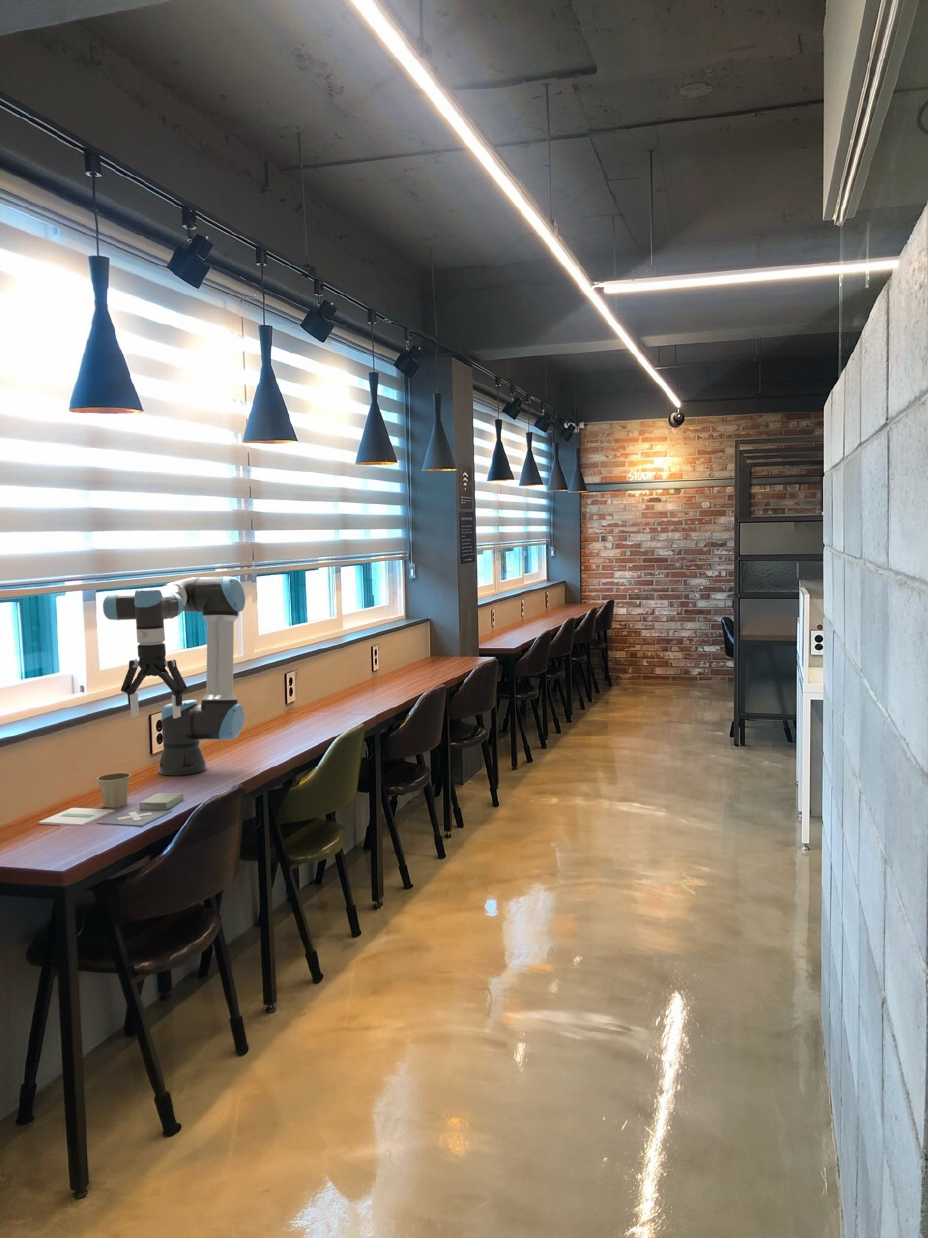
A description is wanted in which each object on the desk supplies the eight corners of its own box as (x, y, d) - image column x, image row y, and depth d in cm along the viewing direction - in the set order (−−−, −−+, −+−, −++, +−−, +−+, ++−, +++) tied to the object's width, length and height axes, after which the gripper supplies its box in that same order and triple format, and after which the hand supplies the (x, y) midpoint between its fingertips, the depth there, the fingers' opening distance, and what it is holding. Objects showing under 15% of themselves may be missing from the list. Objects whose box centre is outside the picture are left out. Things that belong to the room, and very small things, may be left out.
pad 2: (128, 810, 270) (128, 807, 270) (171, 812, 267) (171, 810, 266) (97, 825, 257) (96, 822, 257) (142, 827, 253) (142, 824, 253)
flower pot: (91, 807, 275) (90, 777, 274) (121, 799, 283) (119, 771, 282) (110, 812, 269) (108, 782, 269) (139, 804, 277) (137, 775, 276)
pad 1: (72, 809, 273) (72, 807, 273) (114, 812, 269) (114, 809, 269) (38, 823, 259) (38, 821, 259) (82, 826, 256) (82, 823, 256)
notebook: (157, 800, 280) (156, 793, 280) (183, 800, 280) (183, 793, 280) (139, 809, 268) (139, 802, 268) (166, 809, 268) (166, 802, 268)
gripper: (105, 644, 269) (110, 718, 271) (182, 644, 263) (187, 720, 265) (121, 641, 276) (126, 713, 278) (197, 641, 270) (201, 715, 272)
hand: (156, 717), depth 271 cm, fingers open, 13 cm apart
